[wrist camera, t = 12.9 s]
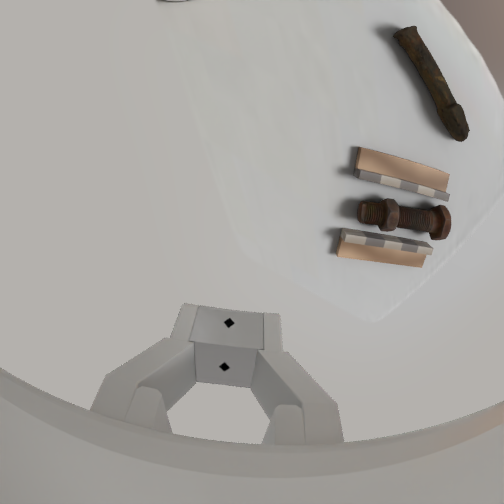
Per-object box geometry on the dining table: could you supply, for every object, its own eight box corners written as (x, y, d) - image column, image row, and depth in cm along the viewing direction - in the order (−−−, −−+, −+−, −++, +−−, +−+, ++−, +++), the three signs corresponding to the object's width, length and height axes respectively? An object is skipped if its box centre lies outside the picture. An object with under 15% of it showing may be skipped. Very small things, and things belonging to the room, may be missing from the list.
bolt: (353, 199, 40) (432, 211, 39) (353, 232, 39) (433, 241, 38) (366, 188, 34) (451, 204, 33) (366, 226, 33) (453, 237, 33)
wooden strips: (358, 146, 34) (364, 148, 32) (445, 172, 34) (454, 176, 32) (335, 253, 41) (339, 260, 39) (418, 264, 42) (425, 271, 39)
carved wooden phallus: (387, 35, 26) (401, 27, 22) (406, 29, 25) (420, 21, 21) (443, 145, 33) (459, 149, 29) (458, 137, 32) (475, 140, 28)
